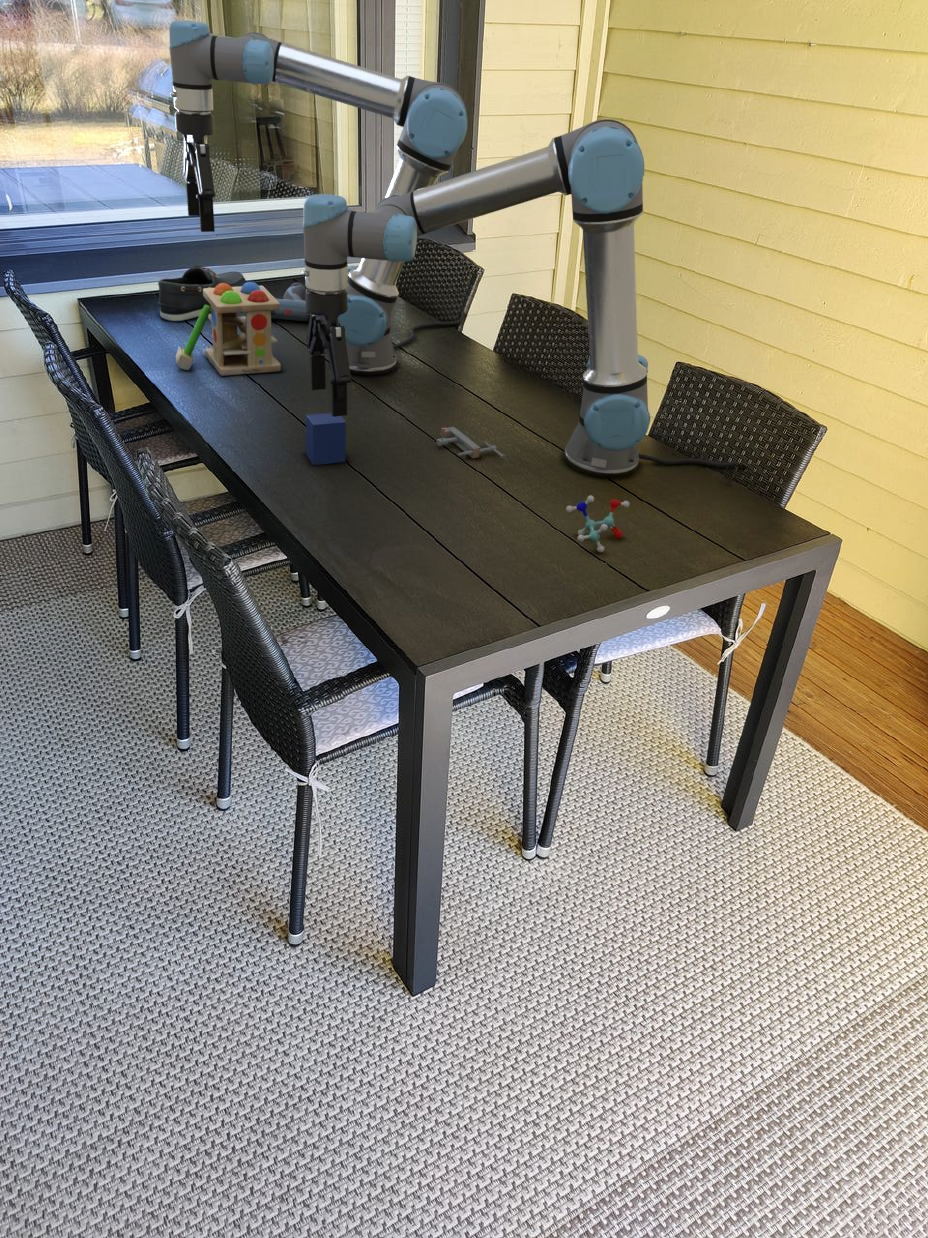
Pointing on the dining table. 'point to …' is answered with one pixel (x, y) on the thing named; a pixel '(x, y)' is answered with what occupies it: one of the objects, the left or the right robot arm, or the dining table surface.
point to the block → (325, 438)
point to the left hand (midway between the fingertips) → (201, 223)
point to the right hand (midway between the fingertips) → (328, 401)
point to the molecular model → (591, 523)
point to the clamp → (464, 443)
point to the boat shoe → (191, 292)
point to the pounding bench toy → (229, 347)
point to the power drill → (292, 304)
